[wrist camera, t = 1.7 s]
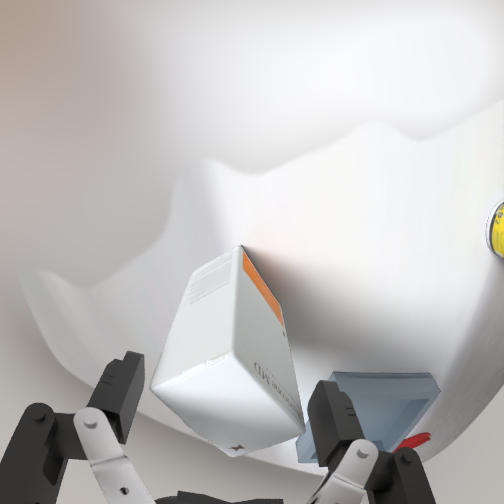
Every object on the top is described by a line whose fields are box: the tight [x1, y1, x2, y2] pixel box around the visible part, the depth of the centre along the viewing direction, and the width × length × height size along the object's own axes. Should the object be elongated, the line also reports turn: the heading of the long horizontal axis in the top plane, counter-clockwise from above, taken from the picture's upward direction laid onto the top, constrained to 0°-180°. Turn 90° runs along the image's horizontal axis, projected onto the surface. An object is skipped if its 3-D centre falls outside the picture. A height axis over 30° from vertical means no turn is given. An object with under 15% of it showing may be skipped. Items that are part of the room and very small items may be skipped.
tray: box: [296, 372, 441, 463], centre depth 26 cm, size 12×12×3 cm
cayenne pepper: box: [392, 433, 431, 453], centre depth 31 cm, size 12×5×2 cm, turn 66°
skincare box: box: [149, 245, 306, 457], centre depth 16 cm, size 6×4×12 cm
